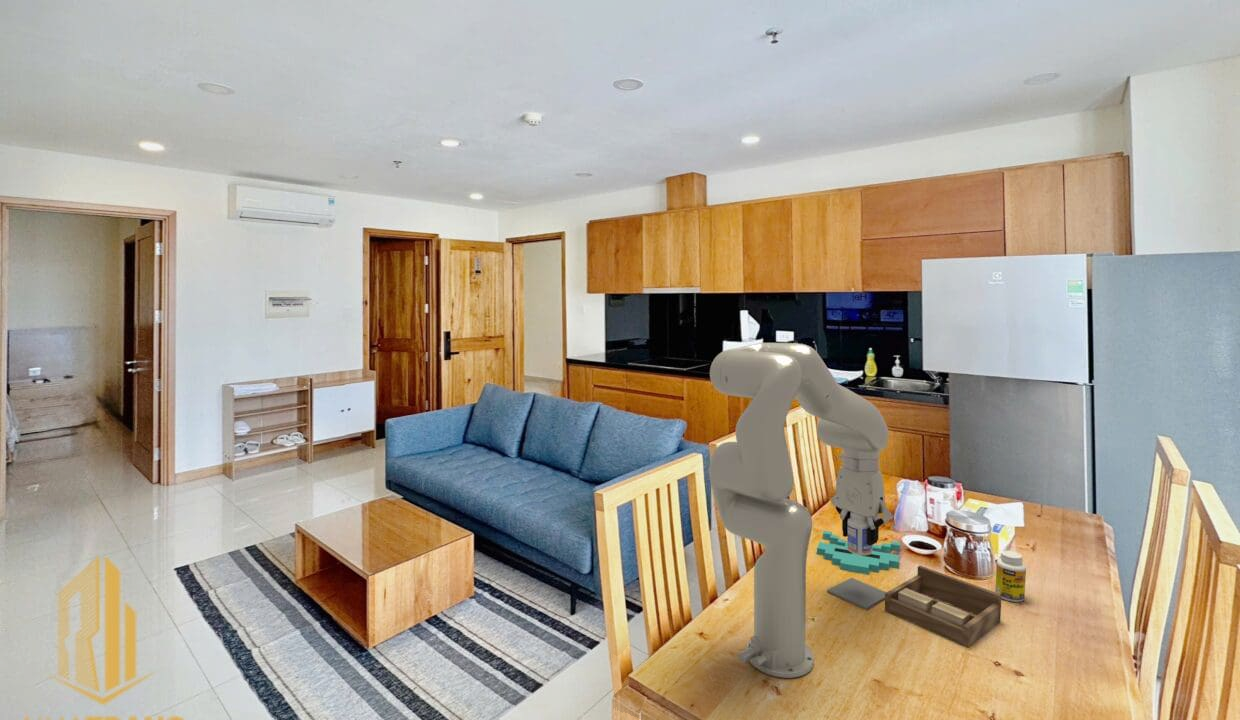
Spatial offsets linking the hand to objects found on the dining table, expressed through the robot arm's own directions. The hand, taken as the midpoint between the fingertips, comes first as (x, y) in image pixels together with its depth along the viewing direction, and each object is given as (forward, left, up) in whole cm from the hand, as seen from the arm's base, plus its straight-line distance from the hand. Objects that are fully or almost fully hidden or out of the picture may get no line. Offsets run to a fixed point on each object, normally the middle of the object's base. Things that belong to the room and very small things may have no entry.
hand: (859, 538), depth 130 cm
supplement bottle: (+26, -22, -14) cm, 36 cm away
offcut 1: (+1, -12, -14) cm, 18 cm away
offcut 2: (+1, -20, -14) cm, 24 cm away
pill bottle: (0, 0, -3) cm, 3 cm away
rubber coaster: (0, 0, -13) cm, 13 cm away
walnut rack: (+5, -16, -13) cm, 22 cm away
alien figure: (+18, +11, -14) cm, 26 cm away
